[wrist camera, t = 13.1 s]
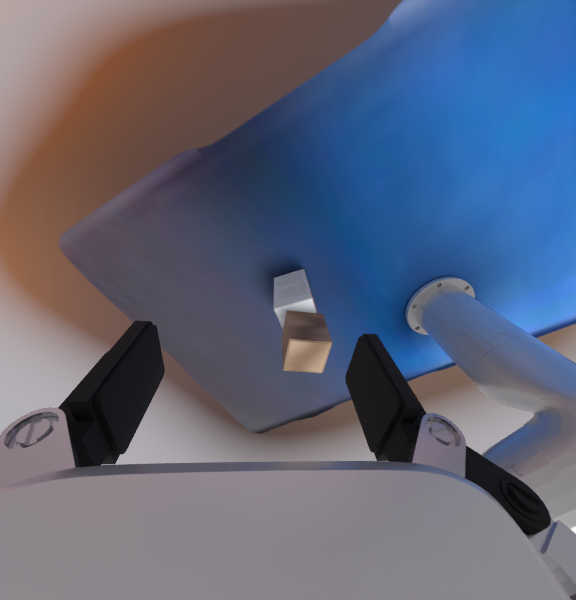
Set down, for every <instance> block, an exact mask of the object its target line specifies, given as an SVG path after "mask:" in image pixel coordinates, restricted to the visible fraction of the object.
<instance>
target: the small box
mask: <svg viewBox="0 0 576 600" xmlns="http://www.w3.org/2000/svg"><path fill="white" fill-rule="evenodd" d="M287 310H289V311H299V312H309V313H318V311H317V308H316V305H315V302H314V299H313V296H312V293H311V290H310V286H309V283H308V280H307V277H306V274H305V271H304V269H301V270H298V271H295V272H292V273H288V274H285V275H282V276H279V277H275V278H274V311H275V313H276V315H277V317H278V319H279V322H280V324H281V327H282V329H283V328H284V323H285V317H286V312H287Z"/></svg>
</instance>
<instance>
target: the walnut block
mask: <svg viewBox="0 0 576 600" xmlns="http://www.w3.org/2000/svg"><path fill="white" fill-rule="evenodd" d="M331 345H332V340H331V337H330V334H329V331H328V328H327V325H326V322H325V319H324V316H323V314H319V313H309V312H299V311H289V310H287V312H286V317H285V323H284V328H283V334H282V358H283V371H297V372H312V373H323V370H324V367H325V364H326V361H327V358H328V354H329V351H330V348H331Z"/></svg>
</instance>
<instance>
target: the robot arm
mask: <svg viewBox="0 0 576 600" xmlns="http://www.w3.org/2000/svg"><path fill="white" fill-rule="evenodd" d="M405 316H406V321H407V323H408V324H409V326H410V327H411V328H412V329H413V330H414V331H416V332H417V333H420V334H423V335H430V336H431V338H432V339H433V340H434V341H435V342H436V343H437V344H438V345H439V346H440V347H441V348H442V349H443V350H444V352H445V353H446V354H447V355H448V356H449V357H450V358H451V359H452V360H453V361H454V362H455V363H456V364H457V366H458V367H459V368H460V369H461V370H462V371H463V372H464V373H465V374H466V375H467V376H468V377H469V378H470V379H471V381H472V382H473V383H475V385H476V386H477V387H478V388H479V389H480V390H481V391H482V392H483V393H484V394H485V395H487V396H488V397H489V398H491V399H493V400H495V401H496V402H498V403H501V404H504V405H506V406H509V407H513V408H517V409H521V410H525V411H530V412H533V413H534V416H533V418H532V419H531V420H529V421H528V422H527V423H525V424H524V426H522V427H521V428H519V429H518V430H516V431H515V432H513V433H512V434H510V435H508V436H507V437H505V438H504V439H502V440H501V441H499V442H498V443H497V444H495V445H493V446H492V447H490V448H489V449H487V450H486V451H485V452H484V453H483V454H482V455H480V454H479V453H477V452H475V451H474V450H472V449H471V448H469V447H467V446H466V442H465V438H464V436H463V434H462V432H461V431H460V430H459V428H458V427H457V426H456V425H455V424H453V423H452V422H451V421H450V420H448V419H447V418H445V417H443V416H441V415H438V414H435V413H428V414H426V412H425V411H424V409H423V407H422V405H421V404H420V402H419V401H418V399H417V397H416V396H415V394H414V393H413V391H412V390H411V388H410V387H409V385H408V383H407V382H406V380H405V379H404V377H403V375H402V374H401V372H400V371H399V369H398V367H397V366H396V364H395V363H394V361H393V360H392V358H391V356H390V355H389V353H388V352H387V350H386V348H385V347H384V345H383V344H382V342H381V341H380V339H379V337H378V336H377V335H376V334H363V335H362V336H361V337H359V339H358V341H357V344H356V347H355V350H354V353H353V356H352V359H351V362H350V365H349V367H348V370H347V373H346V384H347V386H348V389H349V392H350V395H351V398H352V401H353V403H354V406H355V409H356V412H357V415H358V418H359V420H360V423H361V426H362V429H363V432H364V435H365V438H366V440H367V443H368V446H369V449H370V451H371V452H374V453H375V456H376V459H377V461H325V462H324V461H319V462H318V461H317V462H315V461H314V462H313V461H312V462H311V461H309V462H225V463H223V462H222V463H165V464H129V465H102V466H101V464H115V463H116V461H117V459H118V457H119V455H120V454H124V453H125V452H126V450H127V448H128V446H129V444H130V442H131V440H132V438H133V436H134V434H135V432H136V430H137V428H138V426H139V424H140V422H141V420H142V418H143V416H144V414H145V412H146V410H147V408H148V406H149V404H150V402H151V400H152V398H153V396H154V394H155V392H156V390H157V388H158V386H159V384H160V382H161V380H162V378H163V376H164V370H165V369H164V364H163V358H162V353H161V347H160V342H159V337H158V331H157V327H156V325H153V324H152V322H150V321H135V322H134V323H133V324H132V325H131V326H130V327H129V329H128V330H127V331H126V332H125V333H124V334H123V336H122V337H121V338H120V339H119V340H118V341H117V343H116V344H115V345H114V346H113V347H112V348H111V349H110V351H108V352H107V353H106V354H104V356H103V357H102V358H101V359H100V360H99V361H98V363H97V364H96V365H95V366H94V367H93V368H92V369H91V371H90V372H89V373H88V374H87V375H86V376H85V378H84V379H83V380H82V381H81V382H80V383H79V384H78V386H77V387H76V388H75V389H74V390H73V391H72V393H71V394H70V395H69V396H68V397H67V398H66V399H65V401H64V402H63V403H62V404H61V405H60V406H59V408H44V409H39V410H36V411H34V412H31V413H29V414H27V415H24V416H22V417H21V418H19V419H18V420H16V421H15V422H13V423H12V424H10V425H9V426H8V427H7V428H6V429H5V430H4V431H3V432H2V434H1V435H0V600H576V363H574V362H573V361H571V360H570V359H568V358H566V357H565V356H563V355H561V354H560V353H558V352H557V351H555V350H553V349H551V348H550V347H549V346H547V345H546V344H544V343H543V342H541V341H539V340H538V339H536V338H535V337H533V336H532V335H530V334H529V333H527V332H526V331H524V330H523V329H521V328H519V327H518V326H516V325H515V324H513V323H512V322H510V321H509V320H507V319H506V318H504V317H503V316H501V315H500V314H498V313H496V312H495V311H493V310H492V309H491V308H489V307H487V306H486V305H484V304H483V303H481V302H480V301H478V300H477V299H475V292H474V289H473V288H472V286H471V285H470V284H469V283H468V282H466V281H465V280H463V279H460V278H457V277H442V278H438V279H435V280H433V281H431V282H429V283H427V284H425V285H424V286H423V287H421V288H420V289H419V290H418V291H417V292H416V293H415V294H414V295H413V296H412V298H411V299H410V301H409V303H408V305H407V308H406V314H405ZM382 461H389V462H382Z"/></svg>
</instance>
